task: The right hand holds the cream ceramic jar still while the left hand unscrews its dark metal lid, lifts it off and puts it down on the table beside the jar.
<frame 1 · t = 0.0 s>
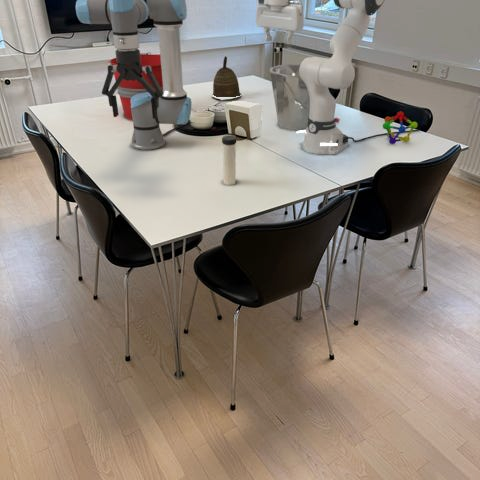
left hand: (135, 116, 150), 28 cm above the table, tool pointing down, fingers open, 13 cm apart
right hand: (278, 42, 160), 48 cm above the table, tool pointing down, fingers open, 8 cm apart
lid: (229, 138, 162), point 18 cm above the table, screwed on, not yet turned
educational toy: (395, 143, 211), on the table
bell: (226, 97, 281), on the table
bucket 2: (147, 114, 248), on the table
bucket: (295, 125, 233), on the table
jar: (229, 182, 172), on the table
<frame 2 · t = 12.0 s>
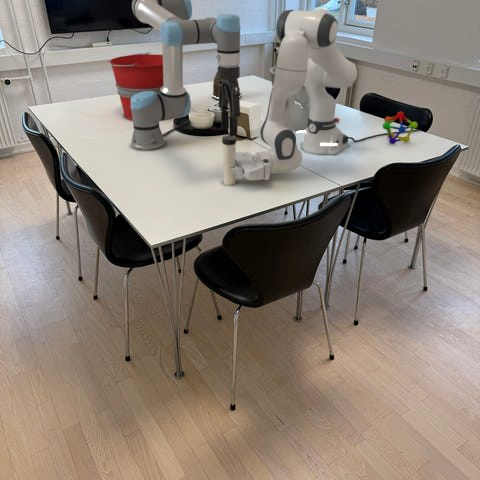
left hand: (229, 131, 161), 20 cm above the table, tool pointing down, fingers open, 7 cm apart
right hand: (227, 167, 168), 6 cm above the table, tool horizontal, fingers closed on jar, 5 cm apart
jar: (229, 182, 172), on the table, touching right hand
everything else where it was.
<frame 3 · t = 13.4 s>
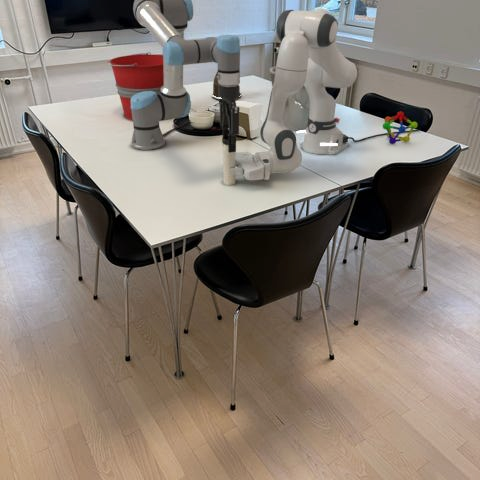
left hand: (229, 149, 165), 14 cm above the table, tool pointing down, fingers closed on lid, 5 cm apart
right hand: (227, 167, 168), 6 cm above the table, tool horizontal, fingers closed on jar, 5 cm apart
lid: (229, 138, 162), point 18 cm above the table, screwed on, not yet turned, touching left hand
jar: (229, 182, 172), on the table, touching right hand
everything else where it was.
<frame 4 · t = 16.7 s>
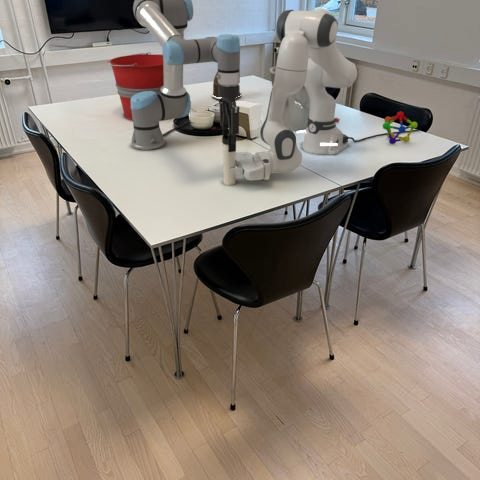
left hand: (229, 148, 165), 14 cm above the table, tool pointing down, fingers closed on lid, 5 cm apart
right hand: (227, 167, 168), 6 cm above the table, tool horizontal, fingers closed on jar, 5 cm apart
lid: (229, 138, 162), point 18 cm above the table, turned 113° so far, risen 0.1 cm, still on its thread, touching left hand
jar: (229, 182, 172), on the table, touching right hand
everything else where it was.
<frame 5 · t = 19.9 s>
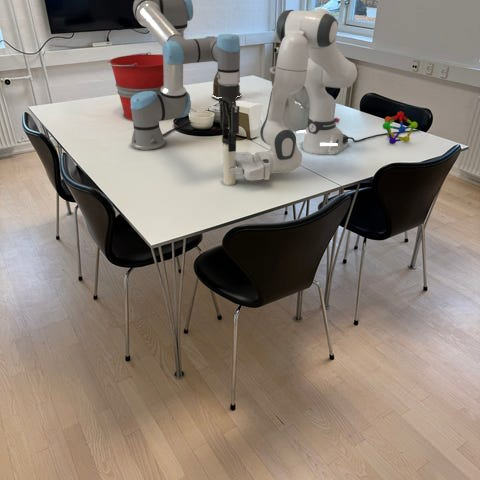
left hand: (229, 148, 164), 14 cm above the table, tool pointing down, fingers closed on lid, 5 cm apart
right hand: (227, 167, 168), 6 cm above the table, tool horizontal, fingers closed on jar, 5 cm apart
lid: (229, 137, 162), point 18 cm above the table, turned 226° so far, risen 0.3 cm, still on its thread, touching left hand
jar: (229, 182, 172), on the table, touching right hand
everything else where it was.
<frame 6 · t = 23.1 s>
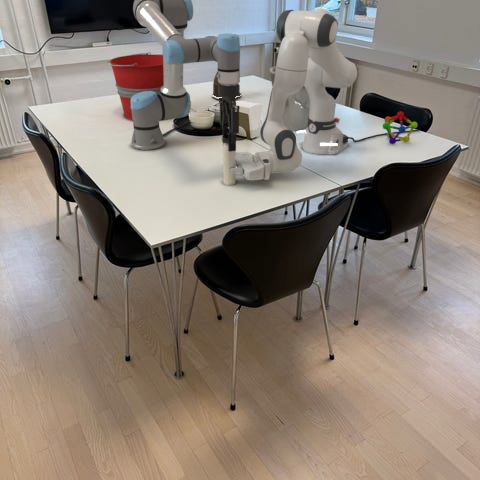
left hand: (229, 148, 164), 14 cm above the table, tool pointing down, fingers closed on lid, 5 cm apart
right hand: (227, 167, 168), 6 cm above the table, tool horizontal, fingers closed on jar, 5 cm apart
lid: (229, 137, 162), point 18 cm above the table, turned 340° so far, risen 0.4 cm, still on its thread, touching left hand
jar: (229, 182, 172), on the table, touching right hand
everything else where it was.
when the left hand's fingers open (0 cm above the table, at t = 29.7 s): lid stays where it is, point 1 cm above the table.
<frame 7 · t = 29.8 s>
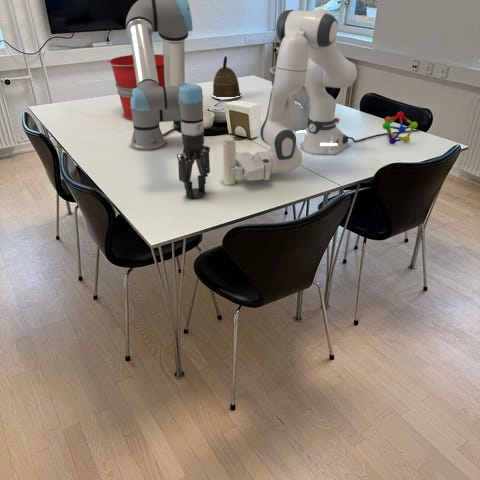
left hand: (195, 195, 162), 0 cm above the table, tool pointing down, fingers open, 5 cm apart
right hand: (227, 167, 168), 6 cm above the table, tool horizontal, fingers closed on jar, 5 cm apart
lid: (195, 192, 161), point 1 cm above the table, off its thread
jar: (229, 182, 172), on the table, touching right hand
everything else where it was.
when the right hand's fingers open (6 cm above the table, at t = 30.6 s): jar stays where it is, on the table.
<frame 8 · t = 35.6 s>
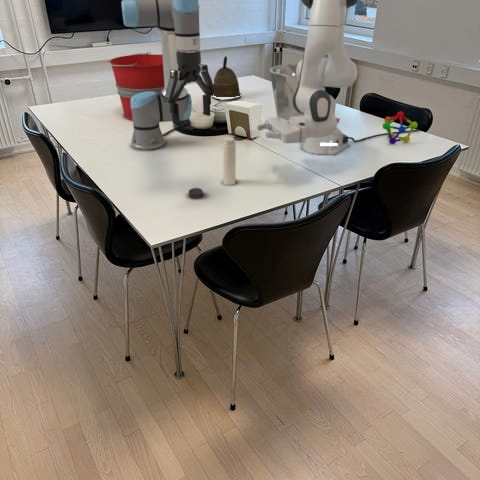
left hand: (191, 119, 147), 28 cm above the table, tool pointing down, fingers open, 13 cm apart
right hand: (262, 131, 165), 19 cm above the table, tool horizontal, fingers open, 8 cm apart
jar: (229, 182, 172), on the table
everything else where it was.
at the end: lid came off its thread; lid point 1.5 cm above the table; the left hand is holding nothing; the right hand is holding nothing; jar tilted 0°; jar moved 0.0 cm from its start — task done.
